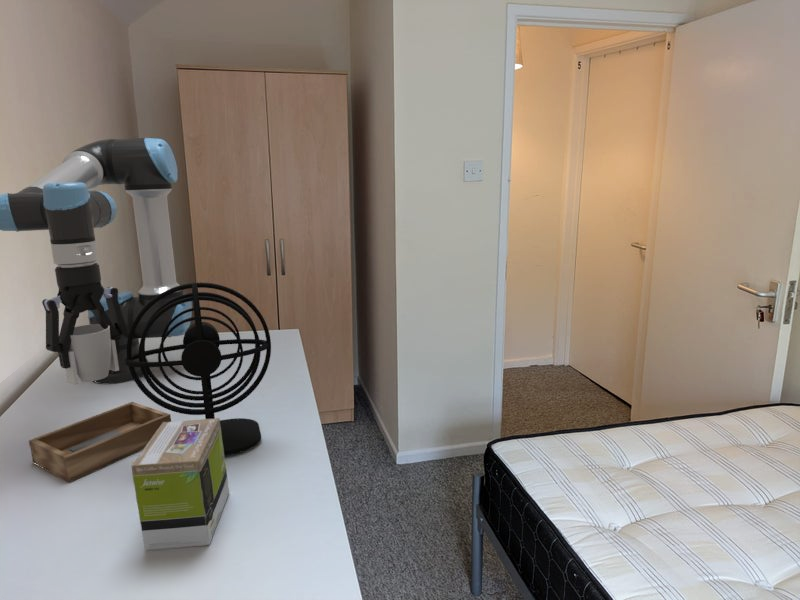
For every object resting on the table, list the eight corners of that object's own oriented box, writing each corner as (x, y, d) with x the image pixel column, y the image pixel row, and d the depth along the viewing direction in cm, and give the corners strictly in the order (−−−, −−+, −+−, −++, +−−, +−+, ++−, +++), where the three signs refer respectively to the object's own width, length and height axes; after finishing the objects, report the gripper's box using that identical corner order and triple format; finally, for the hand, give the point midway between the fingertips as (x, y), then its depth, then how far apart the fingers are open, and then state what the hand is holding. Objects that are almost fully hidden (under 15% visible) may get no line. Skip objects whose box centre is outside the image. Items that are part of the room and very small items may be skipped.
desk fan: (136, 478, 108) (110, 296, 100) (144, 438, 124) (123, 278, 116) (282, 452, 116) (268, 282, 108) (272, 418, 132) (259, 268, 124)
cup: (124, 370, 119) (117, 324, 117) (100, 384, 111) (93, 335, 109) (88, 370, 120) (80, 323, 118) (62, 384, 112) (53, 335, 110)
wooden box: (33, 463, 114) (28, 440, 113) (135, 422, 132) (132, 401, 131) (70, 482, 107) (66, 458, 106) (173, 435, 125) (170, 414, 123)
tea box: (172, 497, 101) (162, 419, 98) (230, 493, 102) (222, 415, 98) (142, 552, 86) (129, 463, 83) (210, 547, 87) (200, 458, 84)
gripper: (29, 274, 100) (50, 396, 105) (137, 257, 117) (151, 364, 122) (9, 271, 104) (30, 389, 109) (116, 255, 121) (130, 358, 126)
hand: (94, 375), depth 116 cm, fingers closed on cup, 8 cm apart
